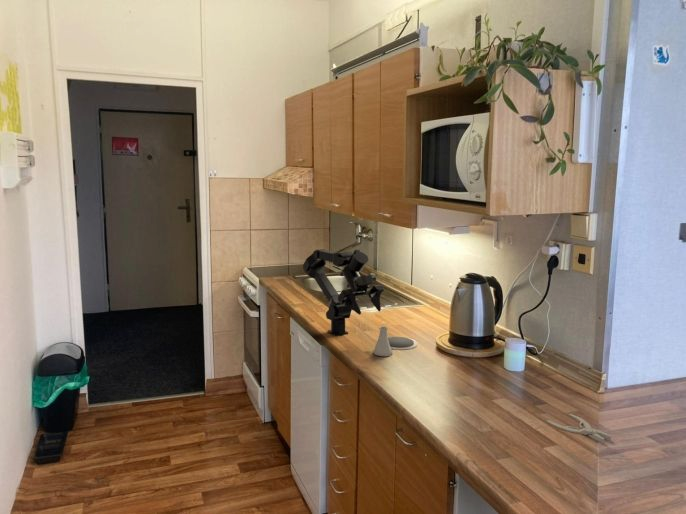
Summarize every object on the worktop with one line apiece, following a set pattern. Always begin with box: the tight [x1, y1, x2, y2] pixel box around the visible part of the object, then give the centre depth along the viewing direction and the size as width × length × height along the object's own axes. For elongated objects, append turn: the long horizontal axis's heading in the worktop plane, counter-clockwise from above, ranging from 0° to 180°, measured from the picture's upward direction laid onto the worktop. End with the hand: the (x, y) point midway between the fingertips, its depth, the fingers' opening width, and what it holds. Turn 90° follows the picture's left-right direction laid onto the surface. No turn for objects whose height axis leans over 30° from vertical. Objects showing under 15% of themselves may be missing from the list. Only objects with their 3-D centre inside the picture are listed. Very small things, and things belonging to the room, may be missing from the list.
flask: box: [372, 326, 393, 357], centre depth 206 cm, size 7×7×10 cm
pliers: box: [546, 413, 612, 444], centre depth 149 cm, size 10×2×15 cm
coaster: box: [387, 336, 419, 351], centre depth 218 cm, size 15×15×1 cm
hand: (370, 312), depth 211 cm, fingers open, 9 cm apart
